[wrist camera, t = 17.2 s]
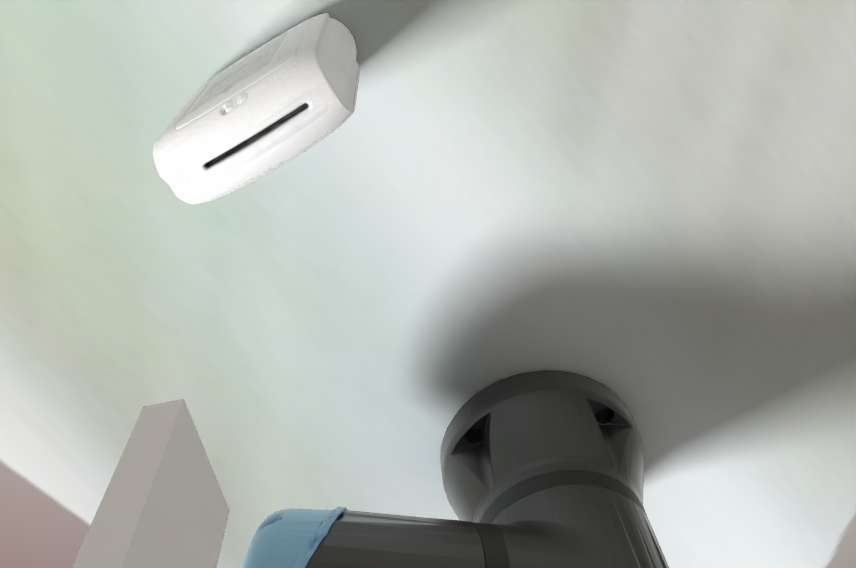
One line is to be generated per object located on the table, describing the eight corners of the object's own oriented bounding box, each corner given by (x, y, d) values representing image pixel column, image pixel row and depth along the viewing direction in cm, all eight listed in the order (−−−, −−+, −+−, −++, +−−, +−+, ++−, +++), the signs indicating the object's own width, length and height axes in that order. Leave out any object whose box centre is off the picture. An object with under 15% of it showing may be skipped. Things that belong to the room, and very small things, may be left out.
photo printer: (227, 151, 48) (184, 235, 37) (184, 91, 46) (124, 161, 36) (371, 65, 46) (369, 127, 36) (331, -2, 45) (316, 43, 34)
